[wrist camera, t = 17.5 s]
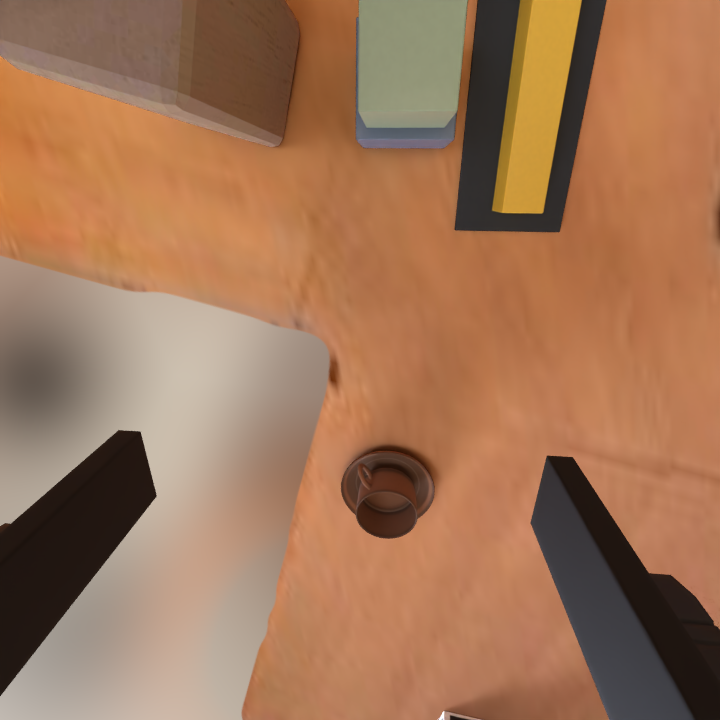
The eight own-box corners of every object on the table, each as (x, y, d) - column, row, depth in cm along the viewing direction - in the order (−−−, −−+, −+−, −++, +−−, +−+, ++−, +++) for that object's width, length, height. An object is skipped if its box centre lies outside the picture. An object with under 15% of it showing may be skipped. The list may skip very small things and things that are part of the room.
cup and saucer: (325, 485, 54) (317, 520, 48) (378, 427, 49) (376, 457, 44) (395, 528, 56) (395, 566, 50) (452, 476, 51) (459, 511, 46)
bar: (524, -36, 31) (541, -66, 27) (570, -37, 31) (594, -67, 27) (491, 210, 38) (501, 212, 34) (529, 211, 38) (543, 213, 34)
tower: (363, 48, 34) (344, -35, 21) (452, 47, 34) (487, -40, 21) (362, 148, 37) (344, 126, 24) (444, 148, 37) (469, 126, 24)
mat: (484, -68, 31) (485, -71, 30) (619, -73, 30) (622, -76, 30) (454, 229, 39) (455, 230, 39) (558, 231, 39) (559, 232, 38)
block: (191, -11, 34) (-55, -250, 15) (304, 23, 34) (196, -172, 16) (182, 121, 38) (-21, 57, 19) (284, 151, 38) (178, 115, 20)
